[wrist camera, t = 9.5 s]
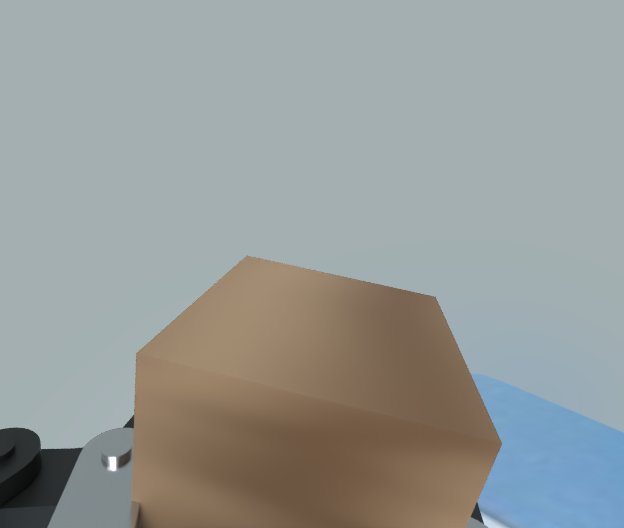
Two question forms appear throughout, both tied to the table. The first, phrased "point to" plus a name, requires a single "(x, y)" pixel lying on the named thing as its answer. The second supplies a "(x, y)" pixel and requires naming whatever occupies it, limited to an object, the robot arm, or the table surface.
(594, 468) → the table surface
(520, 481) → the table surface
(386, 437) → the walnut block
